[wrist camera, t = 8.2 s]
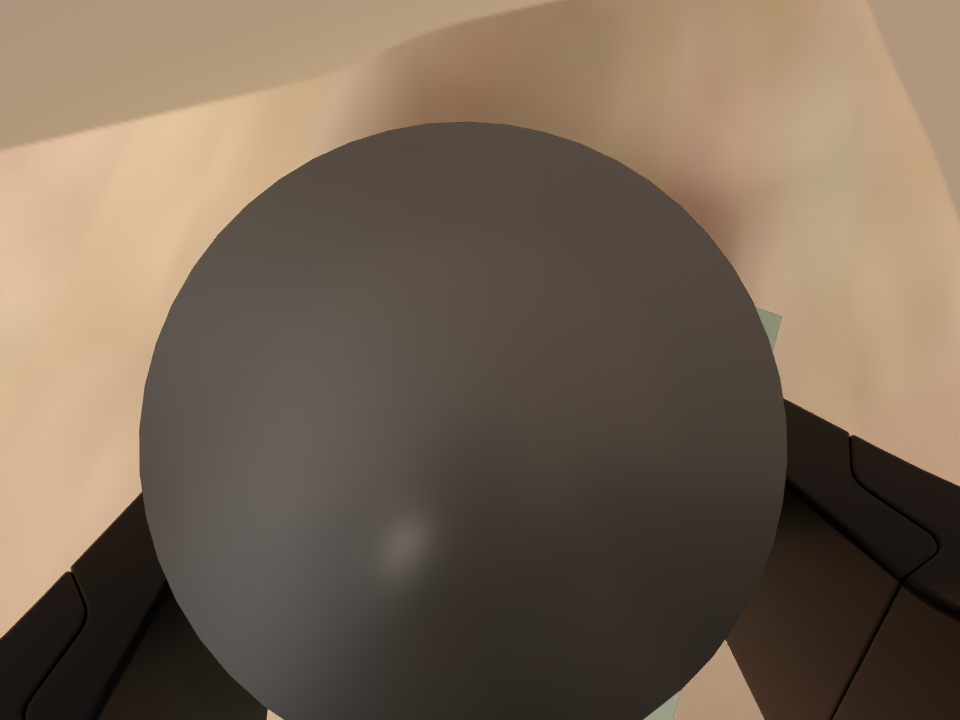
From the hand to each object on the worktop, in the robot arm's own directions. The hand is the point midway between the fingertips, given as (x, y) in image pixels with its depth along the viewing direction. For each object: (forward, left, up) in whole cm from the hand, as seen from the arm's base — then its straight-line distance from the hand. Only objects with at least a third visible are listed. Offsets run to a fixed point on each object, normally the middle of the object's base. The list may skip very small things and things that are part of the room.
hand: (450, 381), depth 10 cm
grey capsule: (0, +1, -7) cm, 7 cm away
